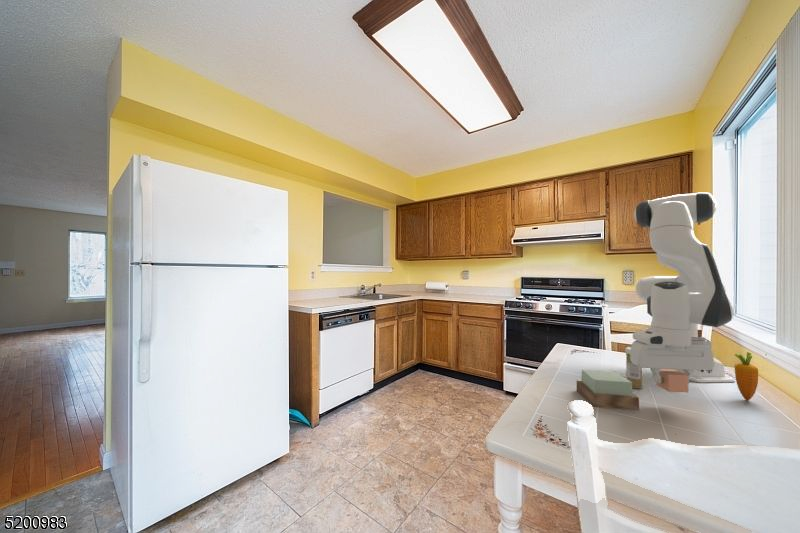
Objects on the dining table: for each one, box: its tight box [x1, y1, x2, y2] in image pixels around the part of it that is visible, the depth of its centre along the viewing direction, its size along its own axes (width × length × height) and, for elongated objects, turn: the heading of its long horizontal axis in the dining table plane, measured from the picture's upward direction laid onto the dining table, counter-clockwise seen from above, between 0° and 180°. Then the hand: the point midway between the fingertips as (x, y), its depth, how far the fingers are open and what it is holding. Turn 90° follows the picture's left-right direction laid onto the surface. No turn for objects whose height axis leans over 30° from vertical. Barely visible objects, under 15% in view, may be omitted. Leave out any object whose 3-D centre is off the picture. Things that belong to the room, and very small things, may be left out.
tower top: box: [581, 368, 633, 396], centre depth 93 cm, size 10×10×4 cm
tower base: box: [576, 379, 640, 411], centre depth 92 cm, size 12×12×4 cm
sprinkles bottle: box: [625, 346, 644, 390], centre depth 103 cm, size 5×5×13 cm
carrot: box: [734, 351, 759, 401], centre depth 92 cm, size 5×5×15 cm
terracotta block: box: [655, 369, 689, 394], centre depth 87 cm, size 5×5×5 cm
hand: (671, 383), depth 87 cm, fingers closed on terracotta block, 5 cm apart
